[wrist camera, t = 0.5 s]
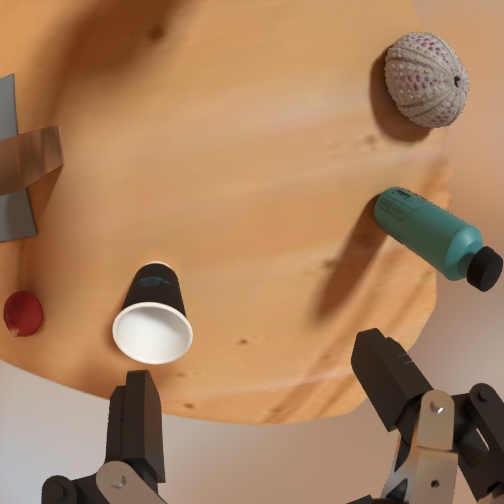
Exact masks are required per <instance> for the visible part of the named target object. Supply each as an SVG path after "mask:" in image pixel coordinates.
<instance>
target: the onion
mask: <svg viewBox="0 0 504 504" xmlns="http://www.w3.org/2000/svg"><path fill="white" fill-rule="evenodd" d="M3 316H4V321H5V323H6V326H7V328H8V329H9V330H10V331H11V334H12V335H13V336H14V337H18V336H20V337H26V336H30V335H33V334H34V333H36V332H37V330H38V329H39V328H40V326H41V324H42V321H43V311H42V307H41V305H40V303H39V301H38V300H37V298H36V297H35V296H34V295H33V294H31V293H30V292H27V291H18V292H15V293H13V294H12V295H11V296H10V297H9V298H8V299H7V300H6V302H5V305H4V314H3Z"/></svg>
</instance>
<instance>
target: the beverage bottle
mask: <svg viewBox="0 0 504 504" xmlns="http://www.w3.org/2000/svg"><path fill="white" fill-rule="evenodd" d="M406 190H407V189H406ZM406 190H404V189H402V188H399V187H393V188H389V189H387V190H385V191H384V192H383V193H382V194H381V195H380V196H379V198H378V200H377V202H376V204H375V208H374V216H375V220H376V222H377V225H379V227H380V228H382V230H384V231H386V234H388V235H389V234H390V236H391V237H393V238H394V239H395V240H397V241H398V242H399V243H401V244H404V245H405V247H407V248H408V249H410V250H412V252H414V253H416V254H417V256H418V255H419V256H420V257H421V258H423V259H424V260H425V261H427V262H428V263H429V264H430V265H432V266H433V267H434V268H436V269H437V270H438V271H439V272H441V273H442V274H443V275H444V276H445V277H446V278H447V279H448V280H451V281H457V280H460V279H463V278H465V277H467V281H468V283H470V284H471V285H472V286H474V287H476V288H477V289H479V290H480V291H483V292H485V291H488V290H489V289H490V288H492V287H493V286H494V284H495V283H496V282H497V280H498V278H499V276H500V274H501V271H502V268H503V260H502V258H501V257H500V256H499V255H498V254H497V253H496V252H494V250H493V249H491V248H490V247H488V246H485V247H483V243H482V237H481V233H480V231H479V230H478V228H476V227H475V226H472V225H470V224H468V223H466V222H464V221H463V220H461V219H459V218H458V217H456V216H454V215H452V214H451V213H449V212H447V211H446V210H444V209H445V208H444V209H442V208H440V207H438V206H436V205H434V204H432V203H433V202H429V201H427V200H426V199H424V198H422V197H421V196H420V197H419V195H418V196H417V194H416V195H415V193H414V194H413V192H412V193H411V191H410V192H409V190H408V191H406ZM410 250H409V251H410ZM416 254H415V255H416Z"/></svg>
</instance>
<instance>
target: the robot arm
mask: <svg viewBox="0 0 504 504" xmlns="http://www.w3.org/2000/svg"><path fill="white" fill-rule="evenodd" d="M351 365H352V369H353V371H354V373H355V375H356V377H357V378H358V380H359V382H360V383H361V385H362V387H363V389H364V390H365V392H366V394H367V396H368V397H369V399H370V401H371V403H372V404H373V406H374V408H375V410H376V411H377V413H378V415H379V417H380V418H381V420H382V422H383V424H384V426H385V427H386V429H387V431H388V432H391V431H393V430H395V429H398V430H399V432H400V434H399V436H398V441H397V446H396V450H395V455H394V459H393V464H392V468H391V472H390V475H389V478H388V480H387V481H386V483H385V485H384V488H383V490H382V493H381V496H380V498H376V499H372V497H371V495H368V496H365V497H363V498H360V499H358V500H355V501H353V502H350V503H347V504H452V501H453V495H454V489H455V482H456V474H457V465H459V467H460V469H461V471H462V473H463V475H464V477H465V479H466V481H467V483H468V485H469V487H470V489H471V491H472V493H473V495H474V497H475V499H476V501H477V504H504V403H503V401H502V400H501V398H500V397H499V396H498V394H497V393H496V391H495V390H494V389H493V388H492V387H491V386H489V385H487V384H485V383H479V384H476V385H474V386H473V387H472V389H471V390H470V392H469V393H466V394H459V395H453V396H450V395H449V394H448V393H446V392H444V391H441V390H434V389H433V388H432V387H431V385H430V384H429V382H428V381H427V380H426V378H425V377H424V376H423V374H422V373H421V371H420V370H419V369H418V367H417V366H416V365H415V363H414V362H412V359H411V358H410V357H409V355H407V353H406V351H405V350H404V349H403V347H402V346H401V345H400V344H399V343H398V342H396V341H395V340H393V339H392V338H390V337H387V338H385V337H384V336H383V334H382V333H381V332H380V331H379V329H377V328H373V329H369V330H365V331H362V332H359V333H358V334H357V336H356V341H355V345H354V349H353V353H352V357H351ZM109 411H110V412H109V418H108V420H109V422H108V429H107V443H106V444H107V445H106V458H105V462H104V464H103V466H101V467H100V469H99V470H98V472H96V473H95V474H93V475H91V476H87V477H83V478H79V479H75V480H71V481H70V480H69V479H68V478H66V477H64V476H60V475H56V476H52V477H50V478H48V479H47V480H46V481H45V483H44V484H43V487H42V500H41V501H42V502H41V504H167V503H166V502H165V501H164V500H163V499H162V498H161V497H160V496H159V495H158V486H157V483H165V482H166V481H165V471H164V456H163V439H162V415H161V402H160V397H159V394H158V391H157V389H156V387H155V385H154V382H153V380H152V377H151V375H150V373H149V371H148V370H136V371H128V372H127V378H126V386H117V387H116V389H115V390H114V392H113V394H112V396H111V397H110V406H109ZM477 428H478V429H479V431H480V433H481V434H482V436H483V438H484V439H485V441H486V443H487V444H488V447H489V450H488V449H487V447H486V445H485V443H484V442H483V440H482V438H481V437H480V435H479V433H478V432H477V430H476V429H477Z"/></svg>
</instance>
